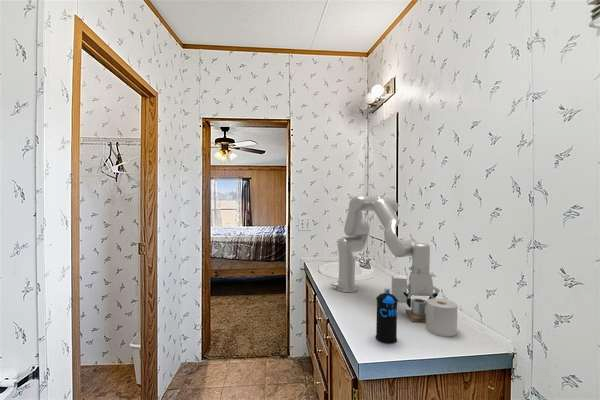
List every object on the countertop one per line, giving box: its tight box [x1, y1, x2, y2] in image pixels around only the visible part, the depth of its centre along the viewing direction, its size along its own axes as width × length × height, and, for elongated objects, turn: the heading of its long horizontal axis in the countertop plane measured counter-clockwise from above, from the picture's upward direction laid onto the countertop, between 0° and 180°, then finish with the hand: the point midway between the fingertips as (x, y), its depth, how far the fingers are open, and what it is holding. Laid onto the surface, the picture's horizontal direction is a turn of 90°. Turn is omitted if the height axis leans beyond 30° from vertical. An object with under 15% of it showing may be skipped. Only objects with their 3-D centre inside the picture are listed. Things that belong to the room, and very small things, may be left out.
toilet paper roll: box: [425, 297, 458, 337], centre depth 129 cm, size 12×12×12 cm
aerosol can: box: [375, 287, 399, 344], centre depth 120 cm, size 8×8×20 cm
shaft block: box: [405, 300, 426, 324], centre depth 141 cm, size 10×10×8 cm
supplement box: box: [390, 274, 408, 303], centre depth 166 cm, size 7×7×13 cm
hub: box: [410, 298, 427, 317], centre depth 141 cm, size 6×6×6 cm
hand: (419, 306), depth 141 cm, fingers open, 9 cm apart
